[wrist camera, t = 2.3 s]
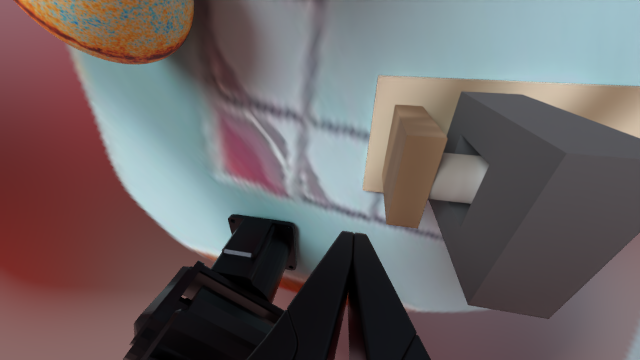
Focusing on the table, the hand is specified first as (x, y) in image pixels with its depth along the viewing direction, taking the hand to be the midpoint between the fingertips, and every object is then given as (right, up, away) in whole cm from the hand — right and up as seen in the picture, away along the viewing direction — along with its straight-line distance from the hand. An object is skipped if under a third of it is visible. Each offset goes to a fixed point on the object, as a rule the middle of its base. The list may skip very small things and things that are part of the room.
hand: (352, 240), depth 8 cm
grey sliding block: (+8, +4, +6) cm, 11 cm away
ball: (-10, +13, +6) cm, 18 cm away
